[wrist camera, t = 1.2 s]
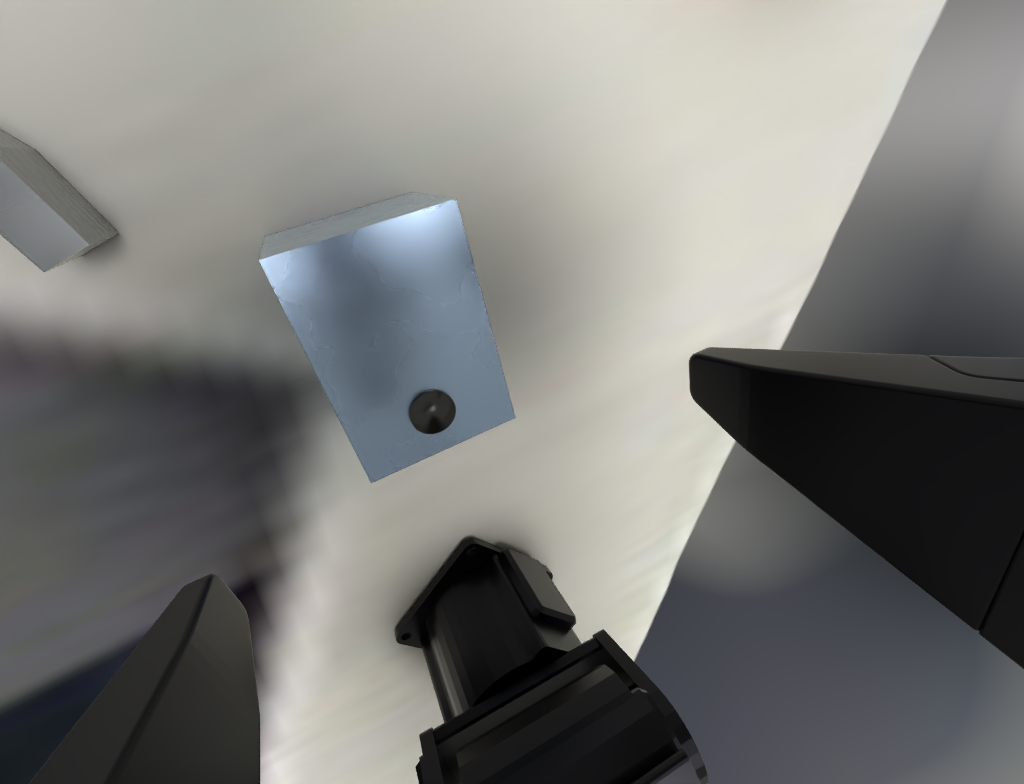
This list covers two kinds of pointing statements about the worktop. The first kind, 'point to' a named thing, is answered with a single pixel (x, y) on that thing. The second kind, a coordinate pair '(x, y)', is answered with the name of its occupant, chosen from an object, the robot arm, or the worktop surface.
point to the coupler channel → (44, 209)
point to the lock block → (393, 326)
